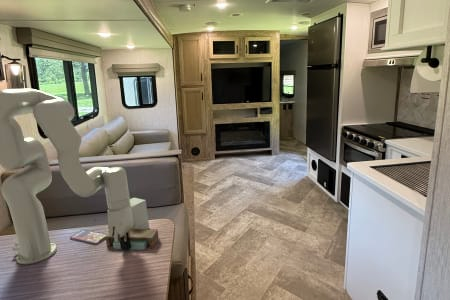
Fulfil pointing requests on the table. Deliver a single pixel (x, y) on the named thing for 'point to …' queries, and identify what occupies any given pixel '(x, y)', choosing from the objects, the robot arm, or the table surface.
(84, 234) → the smartphone
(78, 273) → the table surface
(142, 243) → the mint green tile
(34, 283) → the table surface
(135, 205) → the supplement box
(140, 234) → the walnut stand
